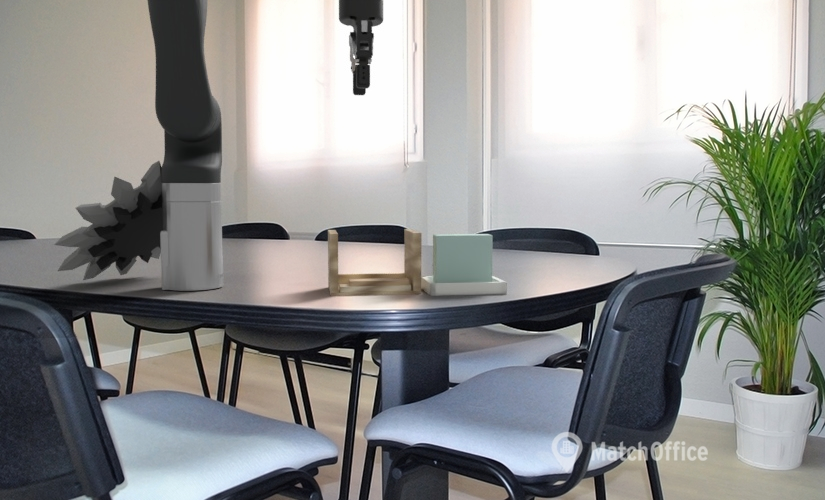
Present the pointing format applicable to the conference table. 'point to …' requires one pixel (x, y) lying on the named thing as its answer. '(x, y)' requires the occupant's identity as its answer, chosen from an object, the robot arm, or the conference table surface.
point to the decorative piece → (119, 227)
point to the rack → (410, 272)
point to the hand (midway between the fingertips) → (361, 91)
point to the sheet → (462, 258)
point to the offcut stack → (376, 285)
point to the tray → (463, 287)
